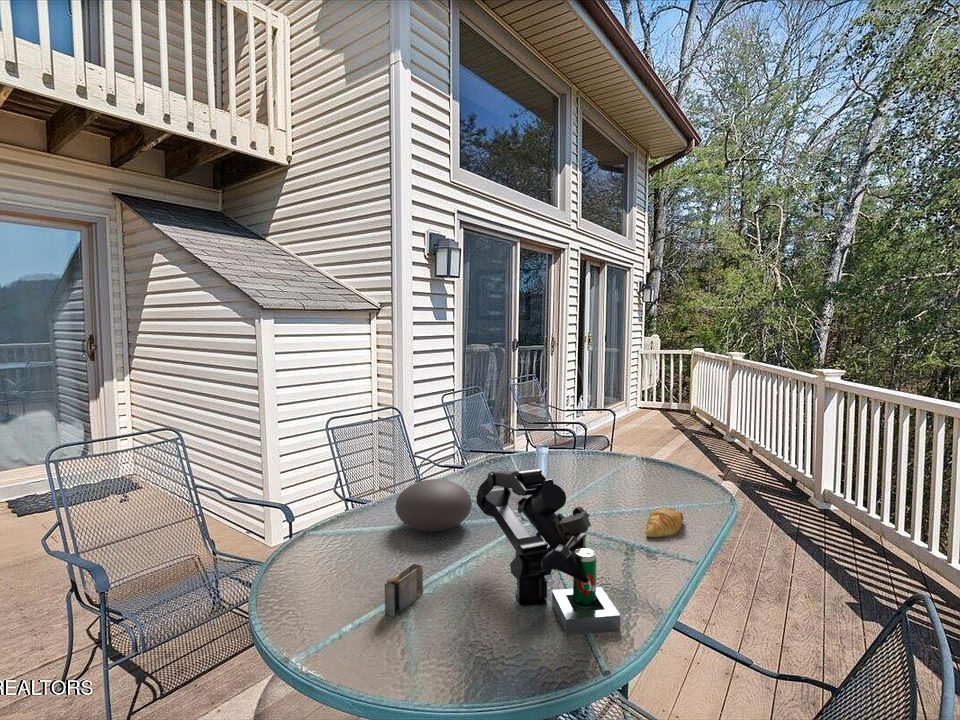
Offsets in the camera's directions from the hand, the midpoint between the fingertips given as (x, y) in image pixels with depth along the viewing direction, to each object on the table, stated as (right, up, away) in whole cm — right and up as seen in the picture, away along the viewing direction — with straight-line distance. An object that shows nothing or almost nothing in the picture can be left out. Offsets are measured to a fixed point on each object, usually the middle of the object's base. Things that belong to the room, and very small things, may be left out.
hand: (590, 576), depth 116 cm
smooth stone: (-40, -6, +53) cm, 67 cm away
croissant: (+34, -6, +50) cm, 61 cm away
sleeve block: (-1, -10, +1) cm, 10 cm away
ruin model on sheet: (-43, -10, +8) cm, 45 cm away
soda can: (-1, -7, +1) cm, 7 cm away
